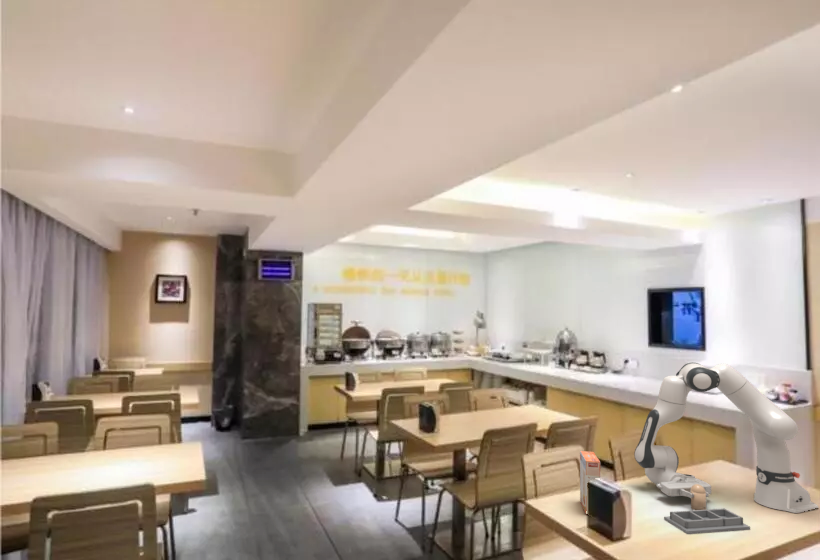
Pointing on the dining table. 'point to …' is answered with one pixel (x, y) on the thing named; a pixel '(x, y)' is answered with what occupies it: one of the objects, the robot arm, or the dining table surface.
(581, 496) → the cracker box
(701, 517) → the grey compartment tray
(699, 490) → the tan domed cylinder
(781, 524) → the dining table surface
